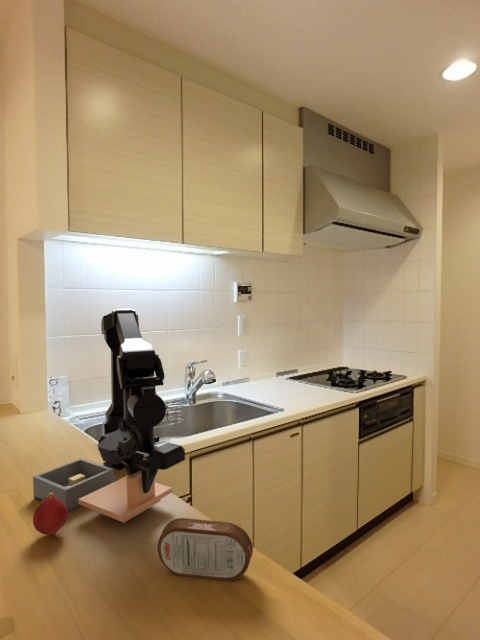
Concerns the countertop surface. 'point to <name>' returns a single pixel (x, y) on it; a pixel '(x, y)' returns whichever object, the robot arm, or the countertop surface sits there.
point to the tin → (205, 549)
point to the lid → (124, 497)
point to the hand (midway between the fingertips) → (141, 490)
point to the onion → (50, 515)
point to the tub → (72, 482)
